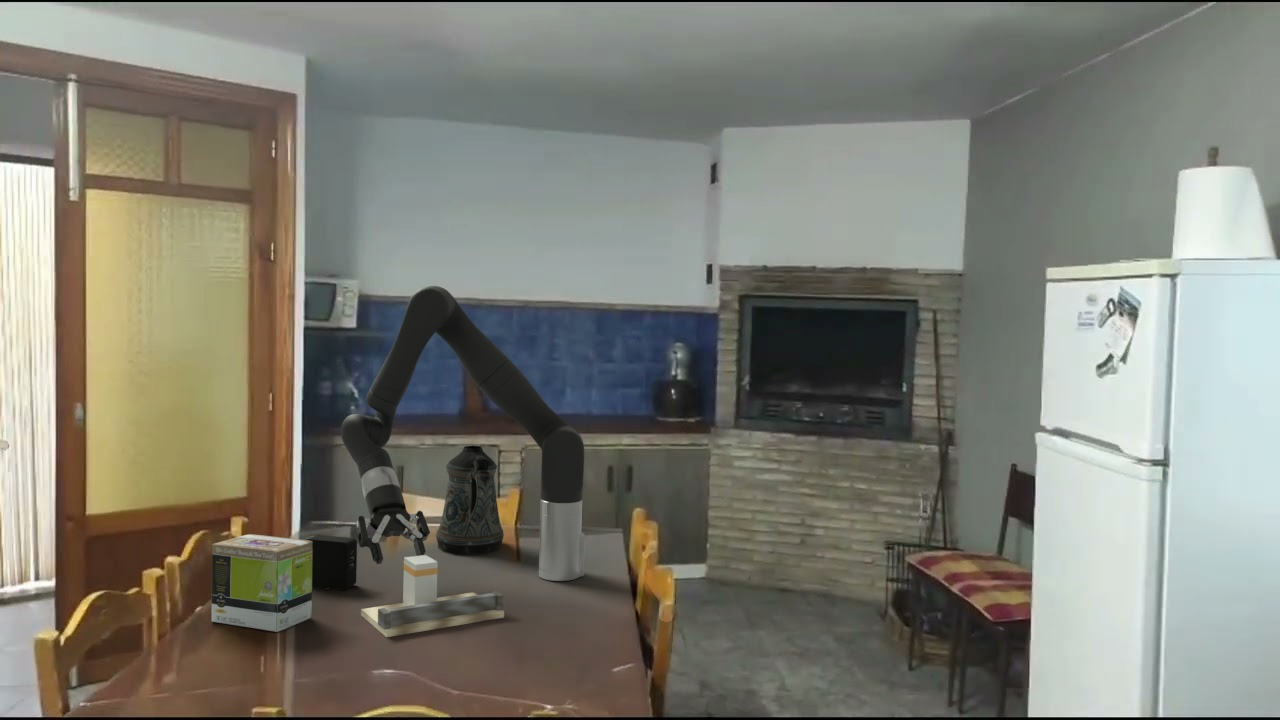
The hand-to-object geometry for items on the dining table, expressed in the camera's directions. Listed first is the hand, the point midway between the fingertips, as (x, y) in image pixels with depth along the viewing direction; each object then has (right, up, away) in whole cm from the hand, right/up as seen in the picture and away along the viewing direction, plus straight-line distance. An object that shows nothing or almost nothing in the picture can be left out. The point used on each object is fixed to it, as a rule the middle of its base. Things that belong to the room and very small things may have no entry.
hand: (401, 559), depth 189 cm
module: (+6, -7, -9) cm, 13 cm away
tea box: (-22, -8, -16) cm, 28 cm away
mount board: (+9, -8, -11) cm, 16 cm away
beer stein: (+7, -6, +43) cm, 44 cm away
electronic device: (-17, -7, +7) cm, 19 cm away
